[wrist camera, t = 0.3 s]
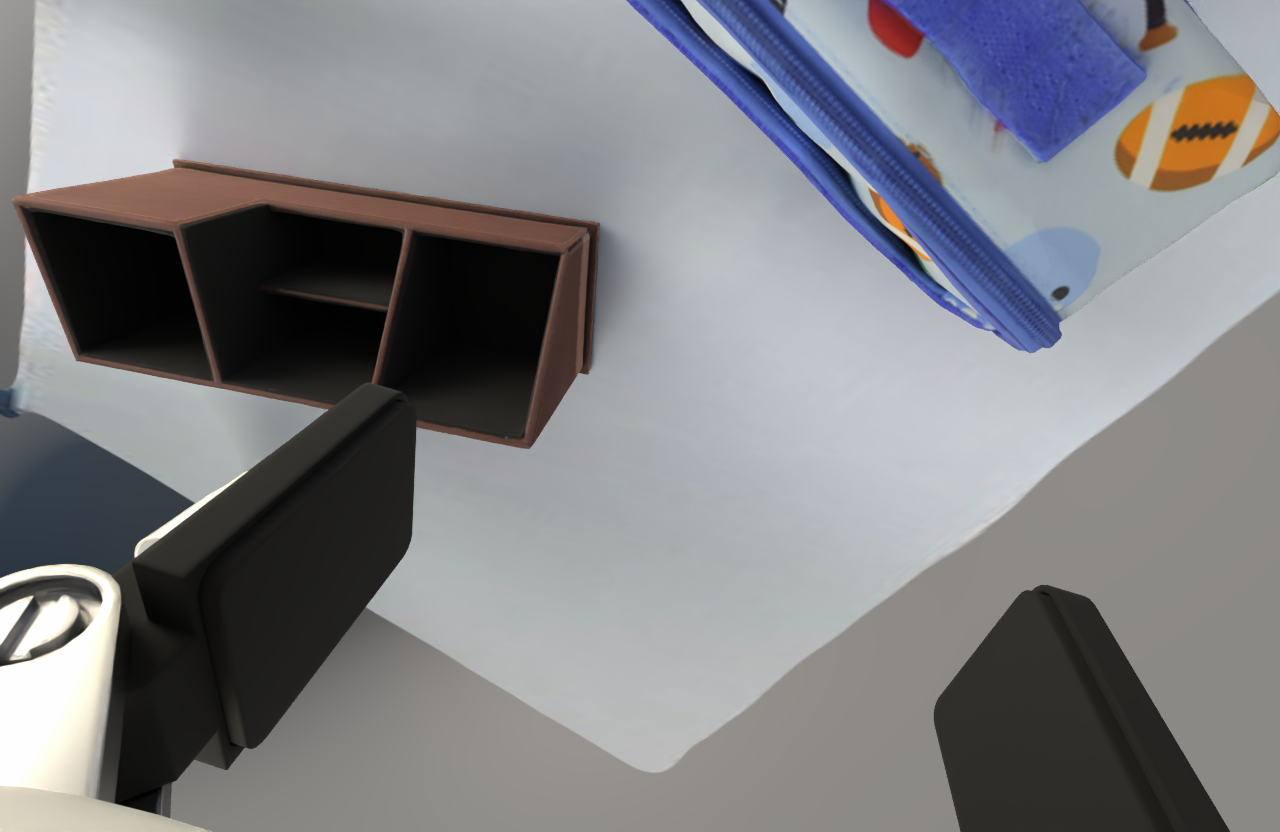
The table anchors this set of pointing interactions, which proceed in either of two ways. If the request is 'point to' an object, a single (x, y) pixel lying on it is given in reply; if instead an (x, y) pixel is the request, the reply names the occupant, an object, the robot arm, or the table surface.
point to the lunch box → (995, 133)
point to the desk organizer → (322, 292)
